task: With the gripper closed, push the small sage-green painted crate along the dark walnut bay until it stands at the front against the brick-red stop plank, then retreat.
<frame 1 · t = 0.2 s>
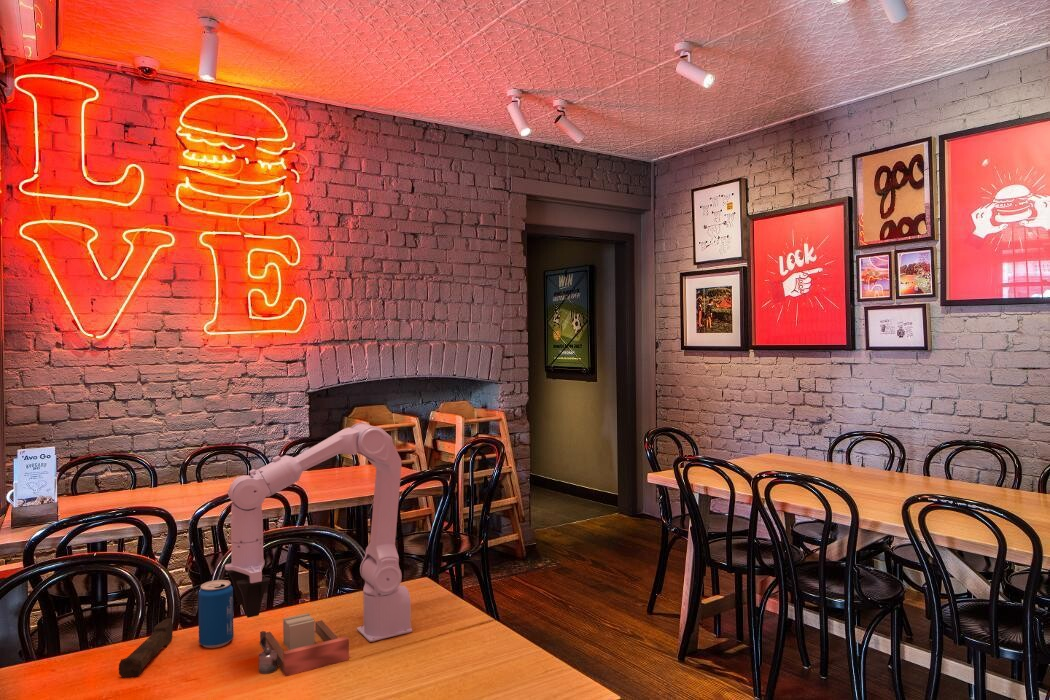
hand: (248, 609, 134), 10 cm above the table, fingers open, 7 cm apart
dark brown rough bar: (148, 658, 137), on the table
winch: (268, 669, 131), on the table
bay: (303, 649, 139), on the table
beverage can: (216, 643, 143), on the table
crate: (299, 644, 142), on the table
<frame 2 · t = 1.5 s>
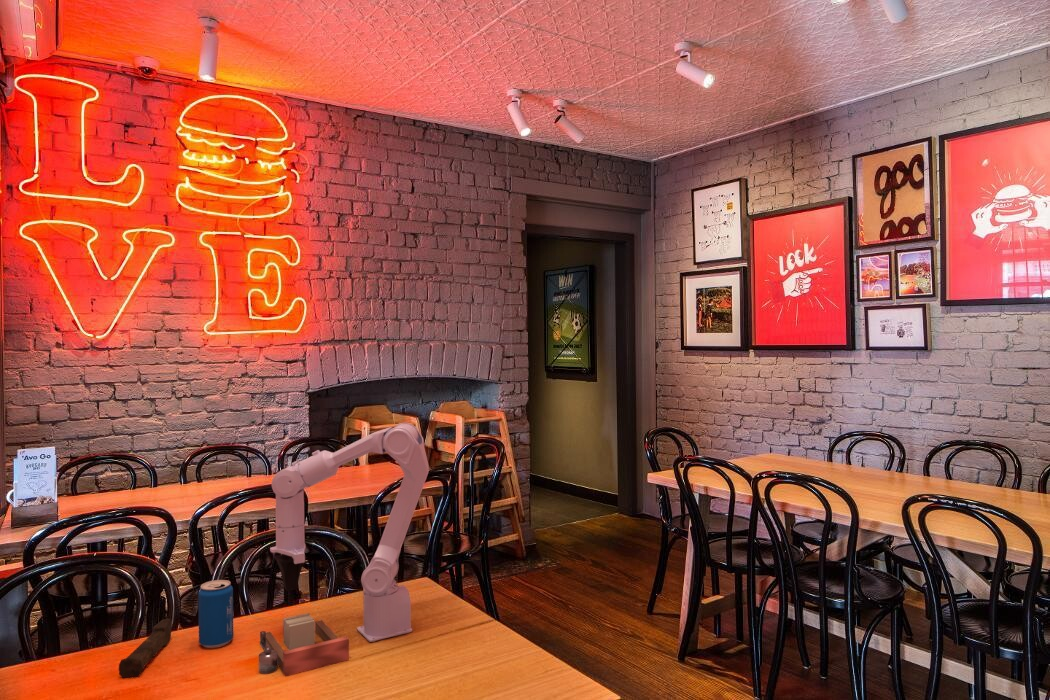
hand: (290, 589, 147), 9 cm above the table, fingers closed
nothing on the table moved.
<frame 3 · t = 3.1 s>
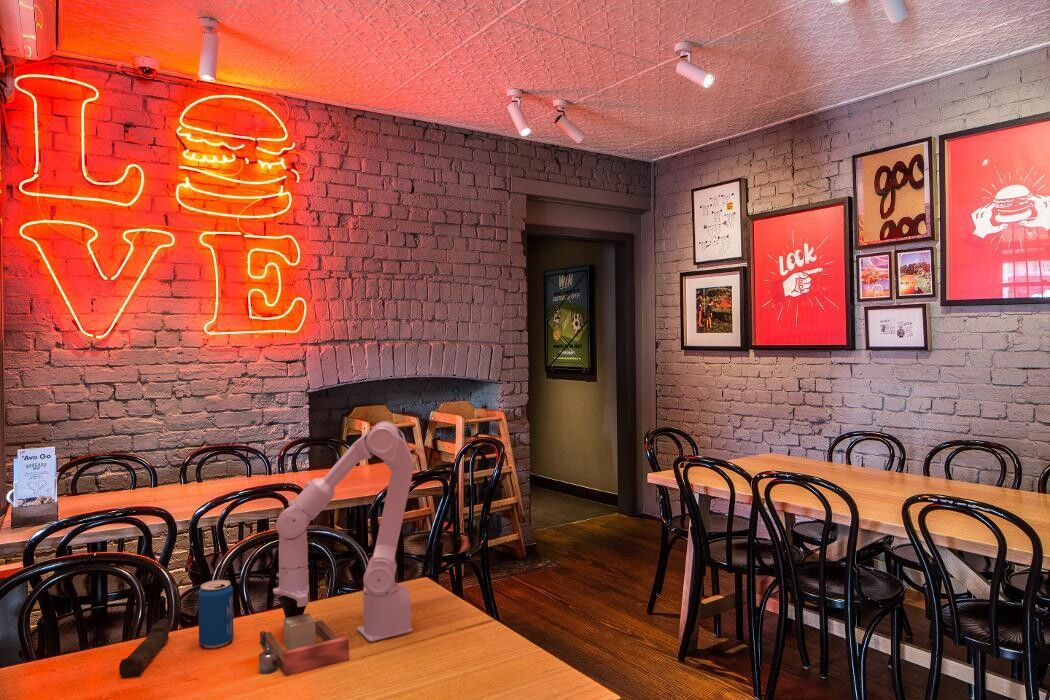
hand: (294, 630, 145), 1 cm above the table, fingers closed
crate: (299, 644, 142), on the table, touching gripper
everything else where it was.
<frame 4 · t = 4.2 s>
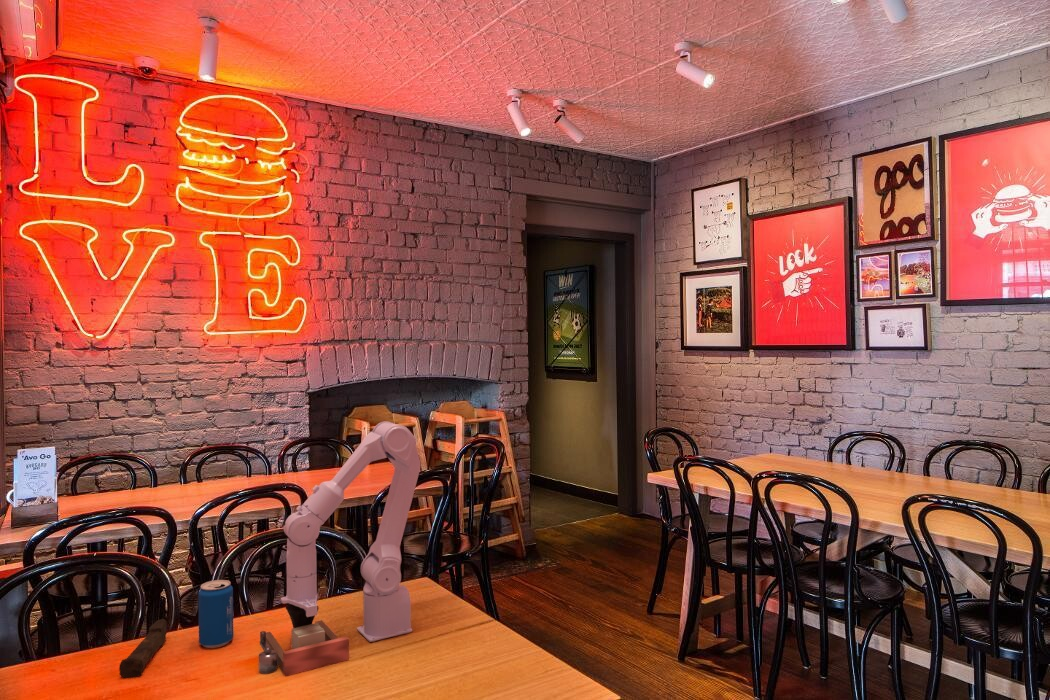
hand: (302, 641, 140), 1 cm above the table, fingers closed
crate: (308, 655, 136), on the table, touching gripper
everything else where it was.
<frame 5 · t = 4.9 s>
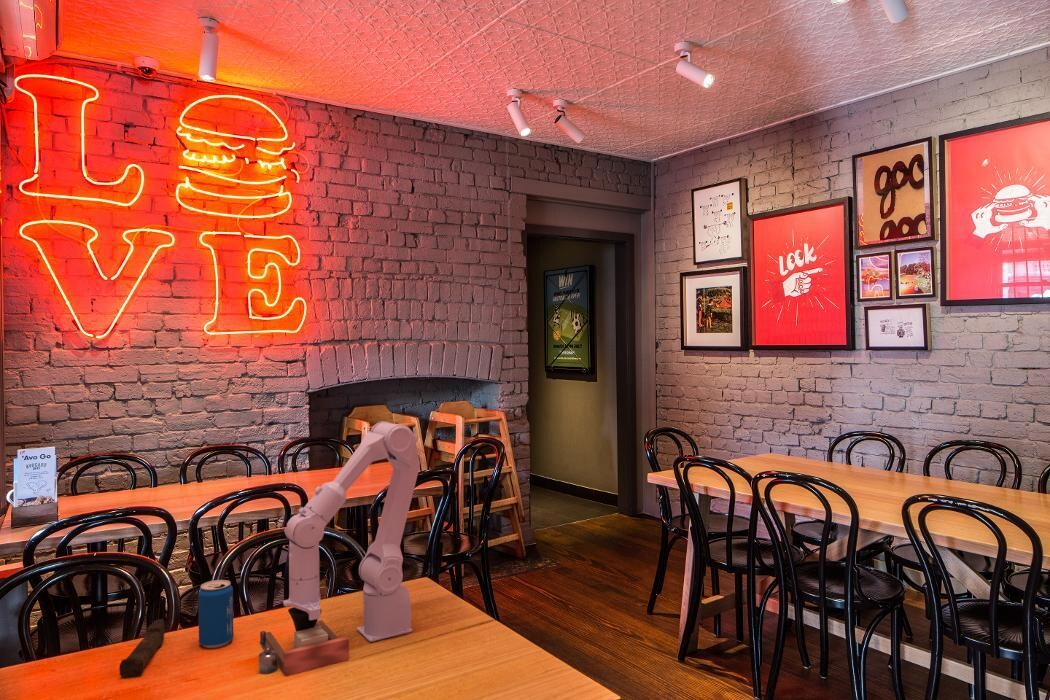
hand: (305, 644, 138), 1 cm above the table, fingers closed
crate: (311, 659, 135), on the table, touching gripper
everything else where it was.
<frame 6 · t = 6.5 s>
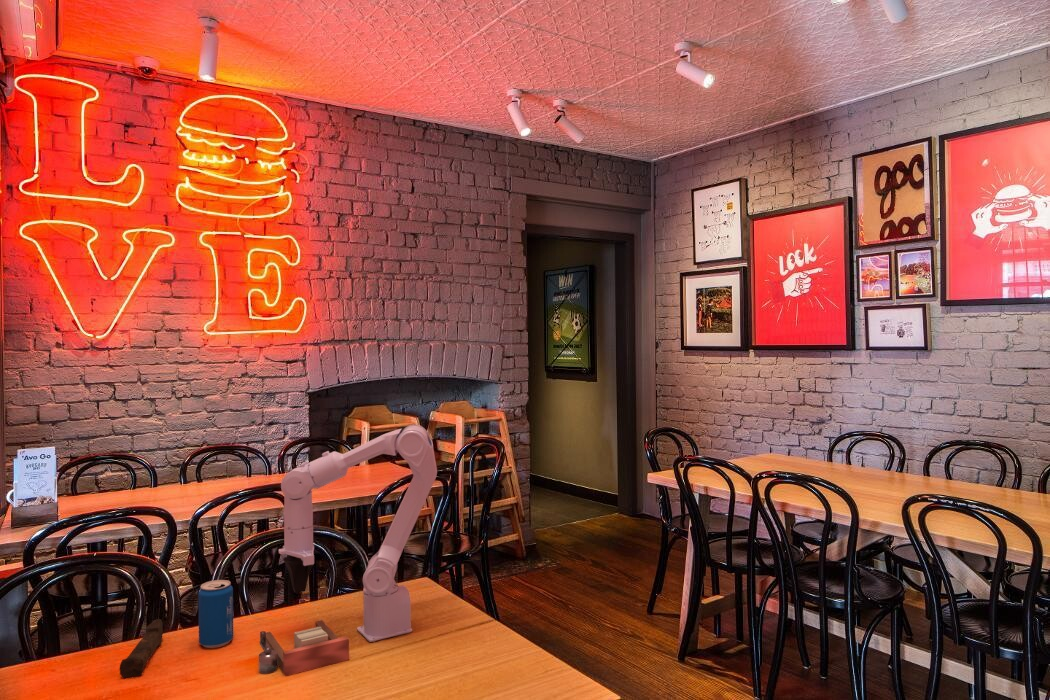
hand: (299, 591, 146), 9 cm above the table, fingers closed
crate: (311, 659, 135), on the table
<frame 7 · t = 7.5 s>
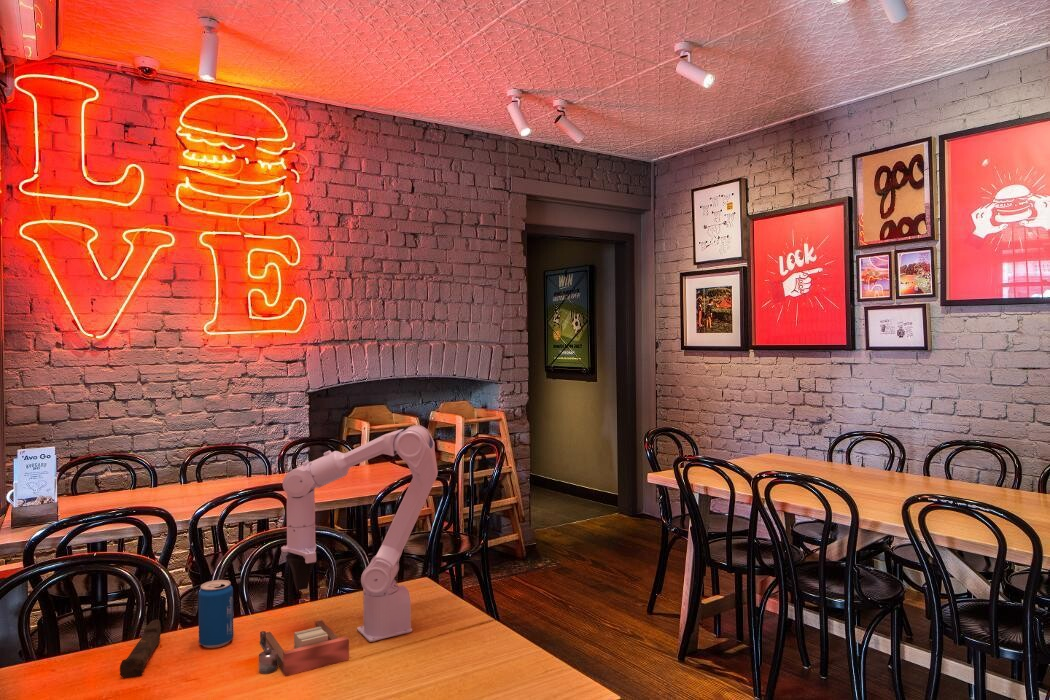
hand: (301, 588, 147), 9 cm above the table, fingers closed
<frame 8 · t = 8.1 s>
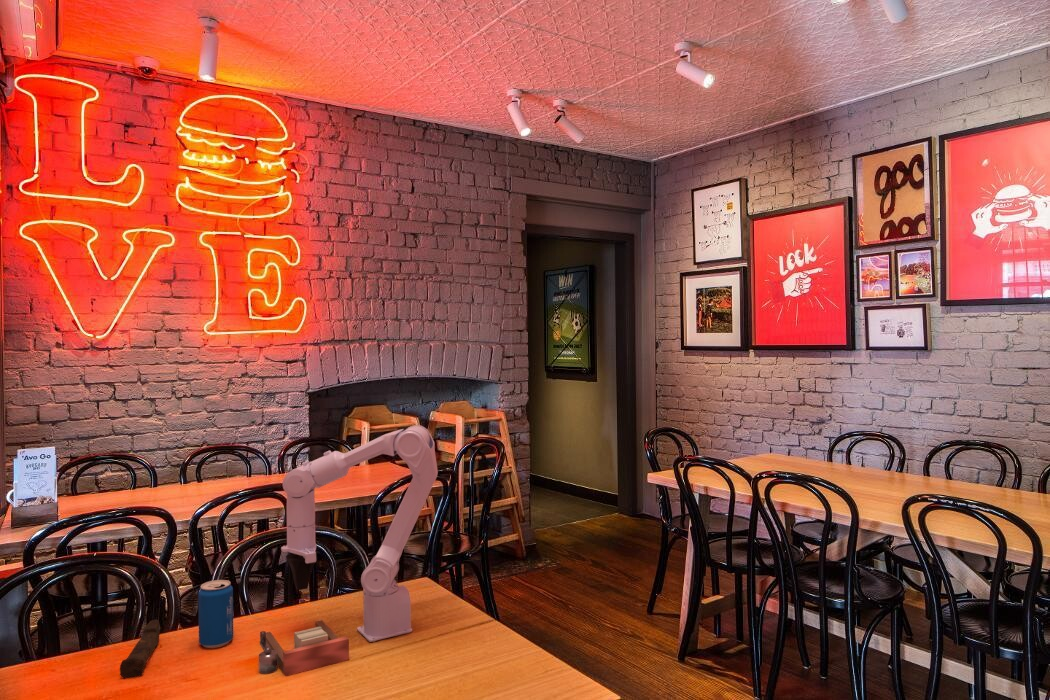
hand: (301, 588, 147), 9 cm above the table, fingers closed
at the end: crate inside the target area (0.2 cm from its centre), on the table; crate tilted 0°; crate moved 8.5 cm from its start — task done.
